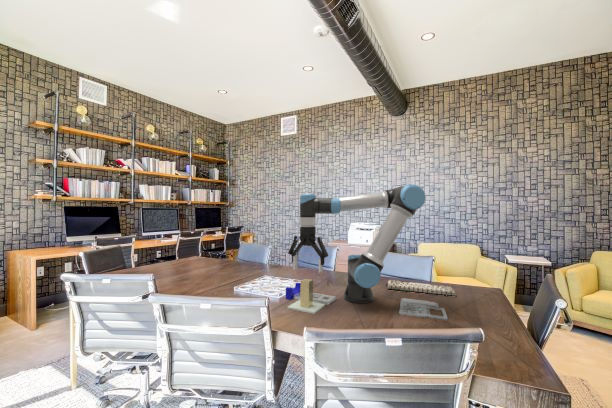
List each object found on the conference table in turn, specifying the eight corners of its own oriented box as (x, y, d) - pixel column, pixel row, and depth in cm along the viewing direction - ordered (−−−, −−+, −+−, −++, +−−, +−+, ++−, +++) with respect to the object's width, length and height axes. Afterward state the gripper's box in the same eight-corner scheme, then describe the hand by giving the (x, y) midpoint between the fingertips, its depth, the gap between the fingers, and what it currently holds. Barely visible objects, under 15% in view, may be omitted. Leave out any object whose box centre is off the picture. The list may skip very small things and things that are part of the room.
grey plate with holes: (335, 299, 147) (335, 296, 147) (328, 305, 138) (328, 301, 138) (301, 293, 156) (301, 290, 156) (292, 298, 148) (292, 295, 148)
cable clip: (294, 292, 158) (294, 282, 158) (301, 294, 156) (301, 283, 156) (283, 298, 148) (283, 287, 148) (290, 300, 146) (290, 288, 146)
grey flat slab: (400, 295, 149) (442, 300, 142) (400, 300, 149) (442, 305, 142) (398, 309, 128) (448, 316, 121) (398, 315, 127) (448, 322, 121)
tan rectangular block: (312, 304, 136) (313, 279, 136) (308, 307, 132) (309, 281, 132) (304, 303, 138) (305, 278, 138) (300, 306, 134) (300, 280, 134)
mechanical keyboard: (451, 289, 171) (451, 284, 171) (458, 299, 153) (458, 293, 153) (386, 284, 182) (386, 278, 182) (385, 292, 164) (385, 286, 164)
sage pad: (324, 305, 137) (324, 304, 137) (314, 314, 126) (314, 312, 126) (299, 301, 144) (299, 299, 144) (287, 308, 133) (287, 306, 133)
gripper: (335, 226, 133) (335, 271, 133) (289, 225, 145) (289, 266, 144) (328, 227, 127) (328, 275, 126) (281, 225, 138) (281, 269, 138)
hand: (307, 270), depth 135 cm, fingers open, 13 cm apart
